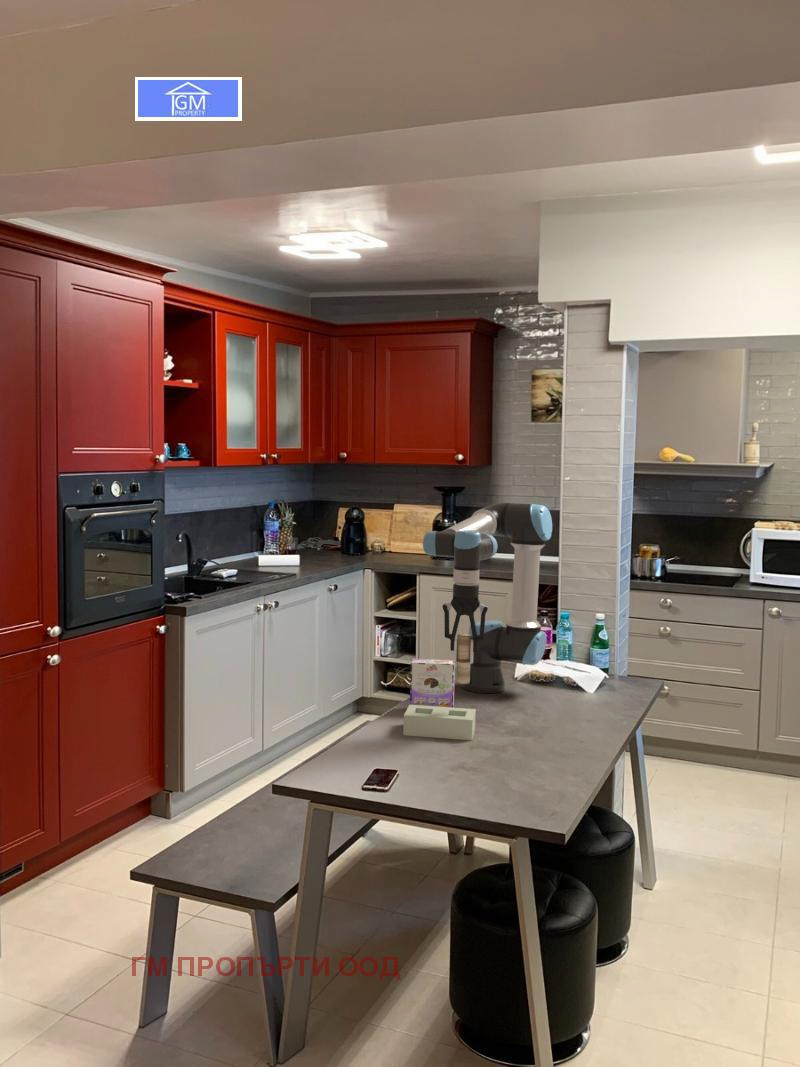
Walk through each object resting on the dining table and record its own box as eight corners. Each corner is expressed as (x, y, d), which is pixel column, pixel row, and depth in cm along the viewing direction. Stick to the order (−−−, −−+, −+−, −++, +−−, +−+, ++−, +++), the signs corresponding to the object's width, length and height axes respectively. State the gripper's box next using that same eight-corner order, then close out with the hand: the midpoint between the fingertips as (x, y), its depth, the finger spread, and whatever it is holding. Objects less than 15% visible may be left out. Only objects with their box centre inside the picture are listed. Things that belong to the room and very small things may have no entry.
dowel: (456, 680, 283) (457, 633, 282) (470, 680, 283) (471, 634, 281) (455, 683, 279) (456, 636, 278) (469, 684, 279) (470, 637, 277)
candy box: (453, 709, 304) (455, 659, 302) (452, 715, 298) (454, 663, 296) (410, 707, 305) (412, 657, 303) (409, 713, 299) (410, 661, 297)
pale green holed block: (409, 723, 288) (409, 704, 287) (475, 728, 285) (475, 709, 284) (403, 735, 277) (403, 715, 276) (471, 740, 274) (472, 720, 273)
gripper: (435, 584, 275) (433, 663, 278) (495, 587, 273) (492, 666, 275) (438, 580, 283) (435, 657, 285) (495, 583, 280) (493, 660, 283)
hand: (463, 661), depth 280 cm, fingers closed on dowel, 4 cm apart
